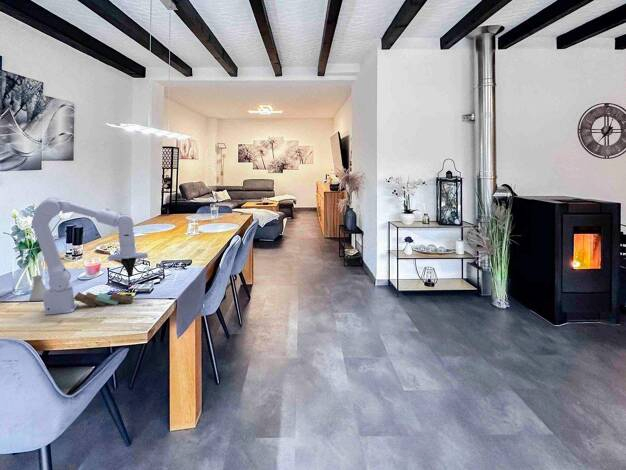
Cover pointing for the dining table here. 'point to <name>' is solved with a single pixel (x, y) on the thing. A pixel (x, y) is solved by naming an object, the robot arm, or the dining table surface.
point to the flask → (37, 289)
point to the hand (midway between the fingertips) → (130, 275)
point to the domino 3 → (106, 299)
